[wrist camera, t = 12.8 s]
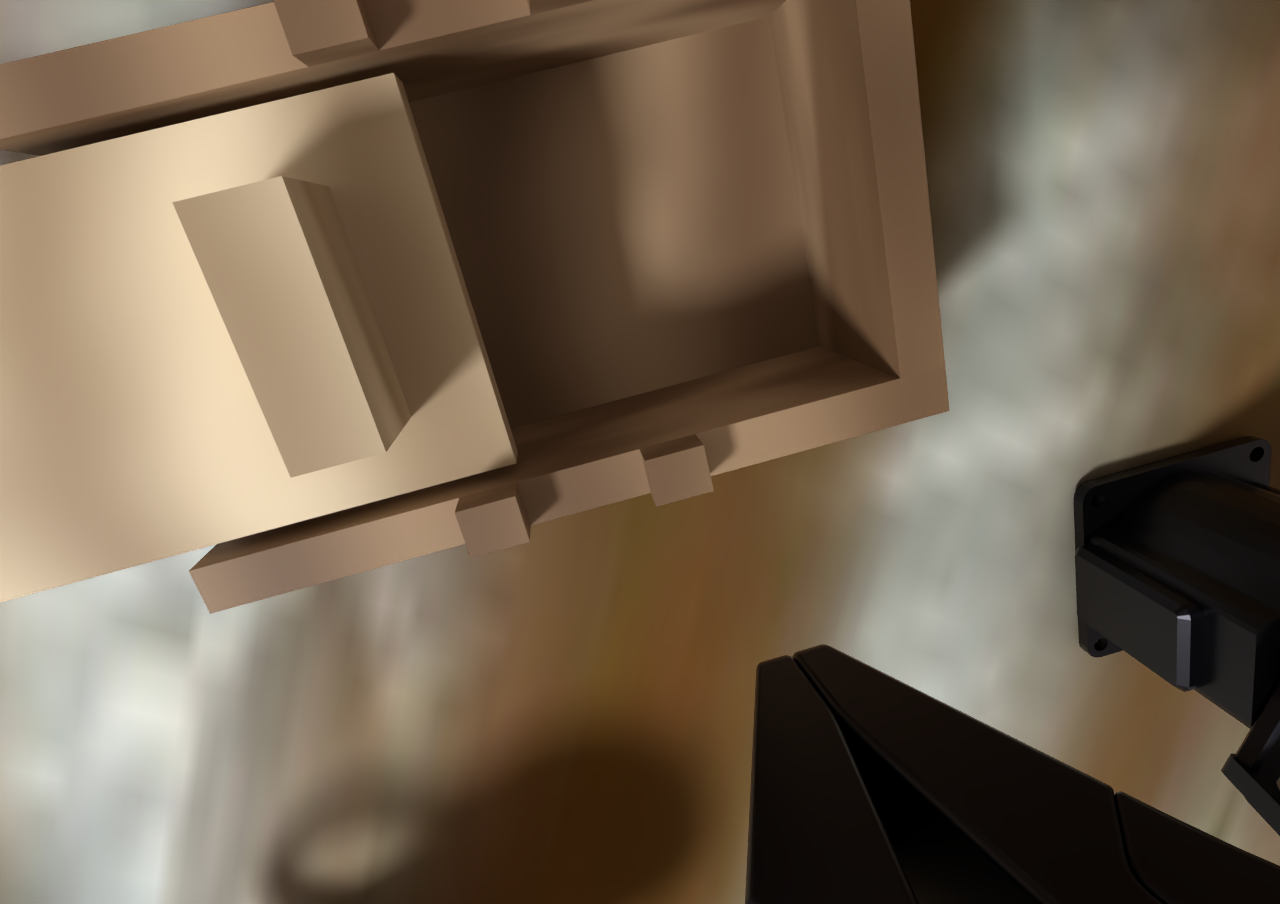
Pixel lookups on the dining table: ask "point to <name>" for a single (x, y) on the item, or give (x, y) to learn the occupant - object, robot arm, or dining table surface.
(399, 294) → the sliding box lid
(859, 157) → the toolbox
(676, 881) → the dining table surface
